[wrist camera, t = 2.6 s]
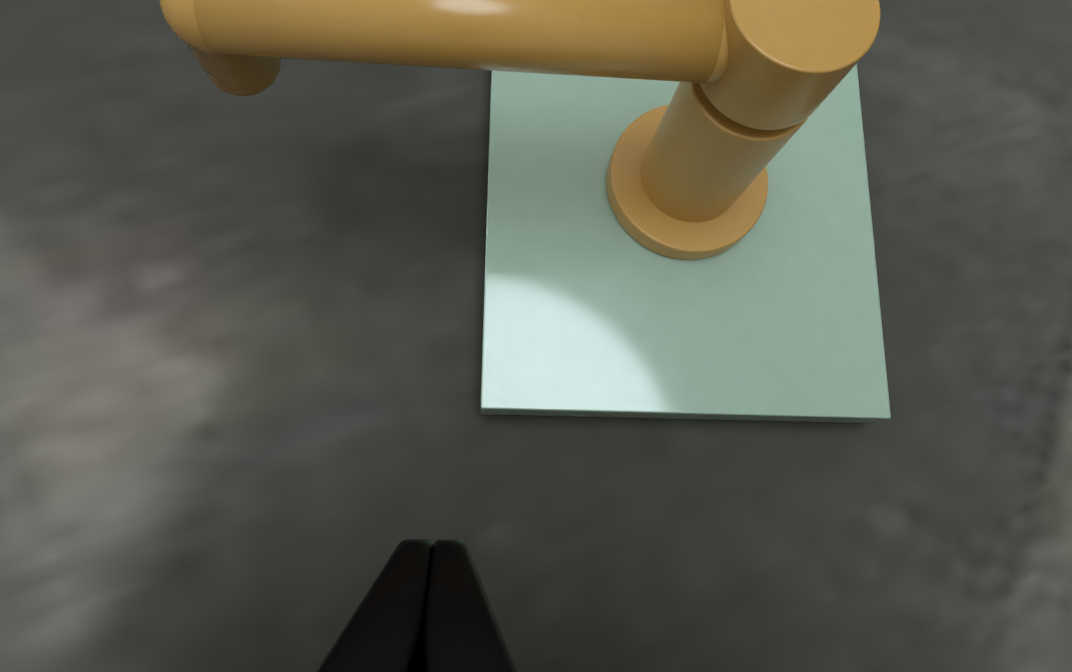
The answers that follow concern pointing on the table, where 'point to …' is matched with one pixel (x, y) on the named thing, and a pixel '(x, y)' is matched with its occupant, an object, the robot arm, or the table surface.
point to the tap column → (691, 176)
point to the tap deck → (674, 273)
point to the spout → (552, 42)
